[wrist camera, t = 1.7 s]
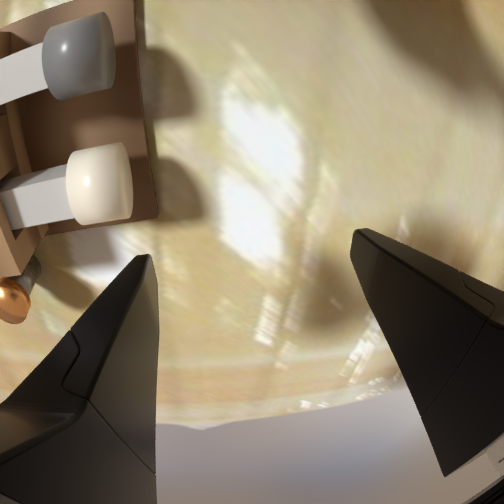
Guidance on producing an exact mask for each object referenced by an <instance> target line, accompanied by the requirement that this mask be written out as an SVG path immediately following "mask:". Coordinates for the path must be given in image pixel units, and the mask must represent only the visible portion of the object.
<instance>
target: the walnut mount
mask: <svg viewBox="0 0 504 504" xmlns="http://www.w3.org/2000/svg"><path fill="white" fill-rule="evenodd" d="M100 12H105V13H106V14H107V16H108V18H109V20H110V23H111V26H112V30H113V35H114V42H115V52H116V73H115V80H114V84H113V86H112V87H111V88H110V89H105V90H101V91H96V92H92V93H88V94H84V95H80V96H76V97H72V98H68V99H65V100H58V99H56V98H55V97H54V96H53V95H52V94H51V92H50V90H49V88H47V89H44V90H41V91H38V92H35V93H32V94H29V95H26V96H23V97H20V98H18V99H15V100H12V101H10V102H7V103H5V104H2V105H0V182H1V181H4V180H7V179H11V178H14V177H18V176H21V175H25V174H29V173H32V172H36V171H40V170H44V169H48V168H52V167H56V166H61V165H65V164H67V163H68V160H69V157H70V155H71V154H72V153H73V152H74V151H78V150H82V149H87V148H92V147H97V146H101V145H107V144H112V143H117V142H121V143H123V145H124V147H125V149H126V151H127V155H128V158H129V163H130V168H131V174H132V183H133V209H132V214H131V217H130V218H128V219H121V220H114V221H108V222H101V223H95V224H89V225H81V224H79V223H78V222H77V220H76V219H75V218H73V219H67V220H62V221H56V222H51V223H46V224H40V225H35V226H30V227H25V228H20V229H16V230H11V229H10V226H9V223H8V220H7V218H6V215H5V212H4V209H3V206H2V203H1V200H0V278H2V277H10V276H17V275H21V274H22V272H23V271H24V269H25V267H26V265H27V263H28V262H29V260H30V258H31V257H32V255H33V253H34V251H35V250H36V248H37V246H38V245H39V243H40V241H41V240H42V238H43V237H44V236H45V235H51V234H57V233H62V232H68V231H74V230H80V229H87V228H93V227H99V226H106V225H112V224H119V223H125V222H132V221H139V220H146V219H154V218H158V215H159V213H158V207H157V201H156V196H155V190H154V184H153V177H152V171H151V165H150V158H149V151H148V144H147V137H146V129H145V121H144V113H143V104H142V95H141V85H140V74H139V63H138V50H137V35H136V16H135V0H73V1H70V2H67V3H64V4H61V5H58V6H55V7H52V8H49V9H46V10H44V11H41V12H38V13H36V14H33V15H31V16H28V17H26V18H23V19H21V20H19V21H16V22H14V23H12V24H10V25H7V26H5V27H3V28H1V29H0V59H2V58H5V57H7V56H9V55H12V54H14V53H16V52H19V51H21V50H24V49H26V48H29V47H32V46H34V45H37V44H40V43H42V42H43V40H44V37H45V35H46V32H47V31H48V29H49V28H51V27H52V26H55V25H58V24H61V23H64V22H68V21H71V20H74V19H77V18H81V17H84V16H88V15H92V14H96V13H100Z"/></svg>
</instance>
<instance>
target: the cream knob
mask: <svg viewBox="0 0 504 504" xmlns="http://www.w3.org/2000/svg"><path fill="white" fill-rule="evenodd" d="M0 200H1V203H2V206H3V209H4V212H5V215H6V218H7V220H8V223H9V226H10V229H11V230H16V229H20V228H25V227H30V226H35V225H40V224H46V223H51V222H56V221H62V220H67V219H73V218H75V219H76V220H77V222H78V223H79V224H81V225H89V224H95V223H101V222H108V221H114V220H121V219H128V218H130V217H131V214H132V209H133V183H132V174H131V168H130V163H129V158H128V155H127V151H126V149H125V147H124V145H123V143H121V142H117V143H112V144H107V145H101V146H97V147H92V148H87V149H82V150H78V151H74V152H73V153H72V154H71V155H70V157H69V160H68V163H67V164H65V165H61V166H56V167H52V168H48V169H44V170H40V171H36V172H32V173H29V174H25V175H21V176H18V177H14V178H11V179H7V180H4V181H1V182H0Z"/></svg>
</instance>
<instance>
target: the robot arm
mask: <svg viewBox="0 0 504 504" xmlns="http://www.w3.org/2000/svg"><path fill="white" fill-rule="evenodd" d="M350 258H351V261H352V264H353V266H354V269H355V271H356V274H357V277H358V279H359V282H360V284H361V287H362V290H363V292H364V295H365V297H366V300H367V302H368V304H369V306H370V308H371V310H372V312H373V314H374V316H375V318H376V320H377V322H378V324H379V326H380V328H381V330H382V332H383V334H384V336H385V338H386V340H387V342H388V344H389V347H390V349H391V351H392V353H393V355H394V357H395V359H396V362H397V364H398V366H399V368H400V370H401V372H402V375H403V377H404V379H405V381H406V384H407V386H408V388H409V390H410V393H411V395H412V397H413V400H414V402H415V404H416V407H417V409H418V411H419V414H420V416H422V417H421V419H422V422H423V424H424V427H425V429H426V432H427V434H428V437H429V439H430V442H431V444H432V447H433V449H434V452H435V455H436V457H437V460H438V463H439V465H440V468H441V471H442V473H443V475H444V477H447V476H448V475H450V474H452V473H454V472H455V471H457V470H459V469H460V468H462V467H464V466H465V465H467V464H469V463H470V462H472V461H473V460H475V459H477V458H478V457H480V456H481V455H483V454H484V453H486V454H487V456H488V458H489V460H490V462H491V464H492V466H493V468H494V470H495V471H497V470H498V471H499V473H500V475H501V477H500V478H499V479H497V480H496V481H495V482H493V483H492V484H490V485H489V486H488V487H486V488H485V489H483V490H482V491H481V492H479V493H478V494H476V495H475V496H473V497H472V498H470V499H469V500H467V501H466V502H464V503H462V504H504V291H501V290H499V289H497V288H495V287H493V286H490V285H488V284H486V283H484V282H482V281H480V280H478V279H476V278H474V277H471V276H469V275H467V274H465V273H463V272H461V271H460V272H459V270H457V269H455V268H453V267H451V266H449V265H447V264H445V263H443V262H441V261H439V260H437V259H435V258H432V257H430V256H428V255H426V254H424V253H422V252H420V251H418V250H415V249H413V248H411V247H409V246H407V245H404V244H402V243H400V242H398V241H396V240H393V239H391V238H389V237H387V236H384V235H382V234H380V233H378V232H375V231H373V230H371V229H368V228H363V229H356V230H355V231H354V233H353V238H352V244H351V250H350ZM158 349H159V307H158V283H157V277H156V273H155V269H154V265H153V261H152V257H151V255H149V254H144V255H137V256H135V257H134V258H133V259H132V260H131V261H130V263H129V264H128V265H127V266H126V267H125V268H124V269H123V270H122V271H121V272H120V273H119V274H118V275H117V276H116V278H115V279H114V280H113V281H112V282H111V283H110V284H109V285H108V286H107V287H106V289H105V290H104V291H103V292H102V293H101V294H100V295H99V296H98V297H97V299H96V300H95V301H94V302H93V303H92V304H91V305H90V306H89V308H88V309H87V310H86V311H85V312H84V313H83V315H82V316H81V317H80V318H79V319H78V320H77V321H76V323H75V324H74V325H73V326H72V327H71V331H70V330H69V331H68V332H67V333H66V334H65V336H64V337H63V338H62V339H61V340H60V341H59V343H58V344H57V345H56V346H55V347H54V348H53V350H52V351H51V352H50V353H49V354H48V355H47V356H46V357H45V358H44V359H43V360H42V362H41V363H40V364H39V365H38V366H37V367H36V368H35V369H34V370H33V371H32V372H31V373H30V374H29V375H28V376H27V377H26V378H25V380H24V381H23V382H22V383H21V384H20V385H19V386H18V387H17V388H16V389H15V390H14V391H13V392H12V393H11V395H10V396H9V397H8V398H7V399H6V400H5V401H3V402H2V403H1V404H0V504H157V498H156V497H157V496H156V475H155V474H156V465H155V464H156V461H155V426H156V388H157V366H158Z"/></svg>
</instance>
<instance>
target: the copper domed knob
mask: <svg viewBox="0 0 504 504" xmlns="http://www.w3.org/2000/svg"><path fill="white" fill-rule="evenodd" d="M40 272H41V266H40V263H39V261H38V260H37V259H36V257H34V256H33V255H32V257H31V258H30V260H29V262H28V263H27V265H26V267H25V269H24V271H23V272H22V274H21V275H17V276H10V277H2V278H0V319H2V320H3V321H5V322H8V323H11V324H19V323H22V322H23V321H24V320H25V318H26V316H27V314H28V311H29V309H30V306H31V301H30V297H29V295H30V293H31V291H32V289H33V287H34V285H35V283H36V281H37V279H38V277H39V275H40Z"/></svg>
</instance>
